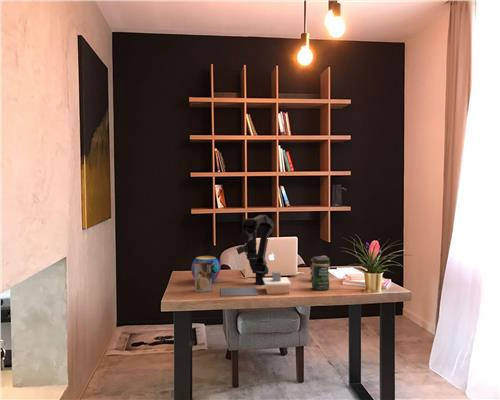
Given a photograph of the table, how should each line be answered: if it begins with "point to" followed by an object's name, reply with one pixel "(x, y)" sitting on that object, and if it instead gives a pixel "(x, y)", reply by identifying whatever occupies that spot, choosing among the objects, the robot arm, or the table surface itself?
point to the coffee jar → (320, 273)
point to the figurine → (313, 269)
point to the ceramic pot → (214, 265)
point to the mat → (239, 291)
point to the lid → (276, 280)
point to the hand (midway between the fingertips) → (251, 268)
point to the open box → (277, 289)
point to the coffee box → (203, 276)
